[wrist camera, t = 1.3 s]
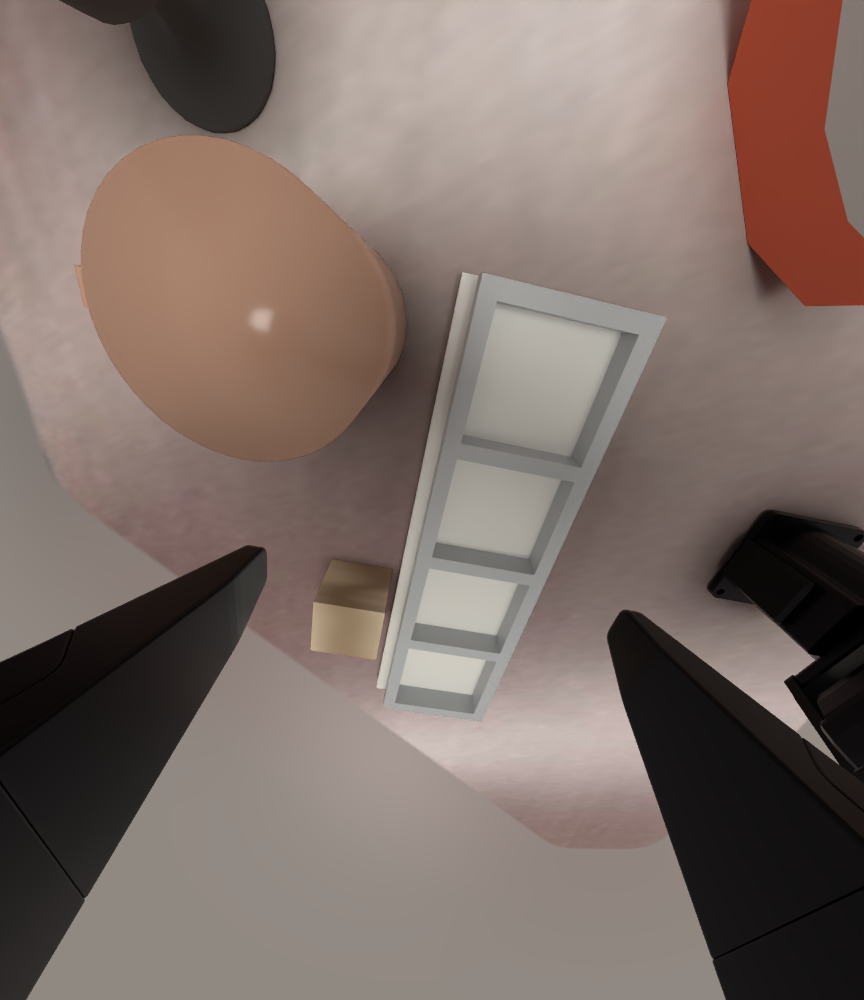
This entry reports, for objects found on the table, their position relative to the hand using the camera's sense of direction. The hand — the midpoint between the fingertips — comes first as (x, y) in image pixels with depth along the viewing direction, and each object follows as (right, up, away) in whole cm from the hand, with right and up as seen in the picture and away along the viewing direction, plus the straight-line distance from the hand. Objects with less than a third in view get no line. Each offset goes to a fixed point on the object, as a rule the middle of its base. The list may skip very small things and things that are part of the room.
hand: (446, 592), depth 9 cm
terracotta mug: (-5, +11, +8) cm, 14 cm away
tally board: (+3, -1, +14) cm, 14 cm away
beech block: (-5, -4, +16) cm, 17 cm away
